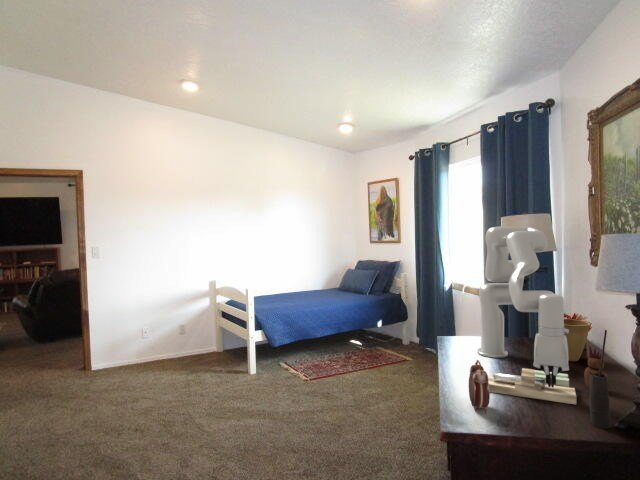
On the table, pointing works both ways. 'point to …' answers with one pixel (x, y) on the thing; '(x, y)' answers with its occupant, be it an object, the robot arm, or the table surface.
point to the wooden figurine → (593, 366)
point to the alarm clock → (479, 387)
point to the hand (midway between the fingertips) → (550, 385)
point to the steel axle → (514, 379)
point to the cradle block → (560, 378)
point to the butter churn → (599, 397)
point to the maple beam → (533, 389)
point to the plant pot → (576, 337)
